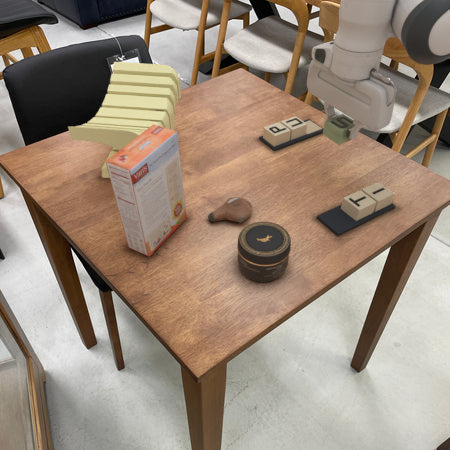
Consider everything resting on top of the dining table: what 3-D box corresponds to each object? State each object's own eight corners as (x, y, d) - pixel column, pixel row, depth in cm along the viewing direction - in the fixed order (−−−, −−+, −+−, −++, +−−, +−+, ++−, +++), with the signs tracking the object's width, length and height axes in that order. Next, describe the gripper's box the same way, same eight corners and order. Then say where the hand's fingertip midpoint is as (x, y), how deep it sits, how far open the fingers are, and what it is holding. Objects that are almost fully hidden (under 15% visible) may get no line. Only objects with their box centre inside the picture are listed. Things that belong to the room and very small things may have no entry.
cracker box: (165, 210, 98) (153, 121, 82) (187, 219, 96) (179, 130, 80) (125, 248, 90) (103, 158, 74) (149, 258, 88) (131, 169, 72)
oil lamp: (219, 204, 100) (206, 227, 95) (216, 190, 97) (203, 212, 92) (256, 209, 97) (245, 232, 93) (255, 194, 94) (243, 217, 90)
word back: (308, 120, 122) (310, 107, 119) (325, 132, 118) (327, 118, 115) (258, 138, 116) (259, 125, 113) (274, 151, 112) (275, 137, 109)
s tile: (340, 127, 93) (343, 113, 91) (356, 137, 91) (360, 123, 88) (322, 134, 92) (324, 120, 89) (338, 145, 89) (341, 130, 86)
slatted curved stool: (157, 205, 99) (145, 132, 85) (89, 199, 100) (67, 126, 87) (184, 134, 118) (178, 65, 104) (127, 130, 119) (114, 61, 105)
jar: (297, 267, 86) (302, 238, 81) (263, 293, 82) (265, 265, 76) (261, 241, 91) (263, 213, 85) (226, 265, 87) (226, 237, 81)
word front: (372, 191, 101) (376, 178, 99) (395, 208, 98) (400, 194, 95) (316, 217, 96) (318, 204, 93) (337, 236, 92) (341, 222, 89)
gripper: (411, 76, 75) (389, 149, 86) (331, 38, 86) (319, 106, 97) (385, 86, 73) (365, 159, 84) (306, 45, 84) (297, 114, 94)
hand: (340, 130), depth 90 cm, fingers closed on s tile, 5 cm apart
